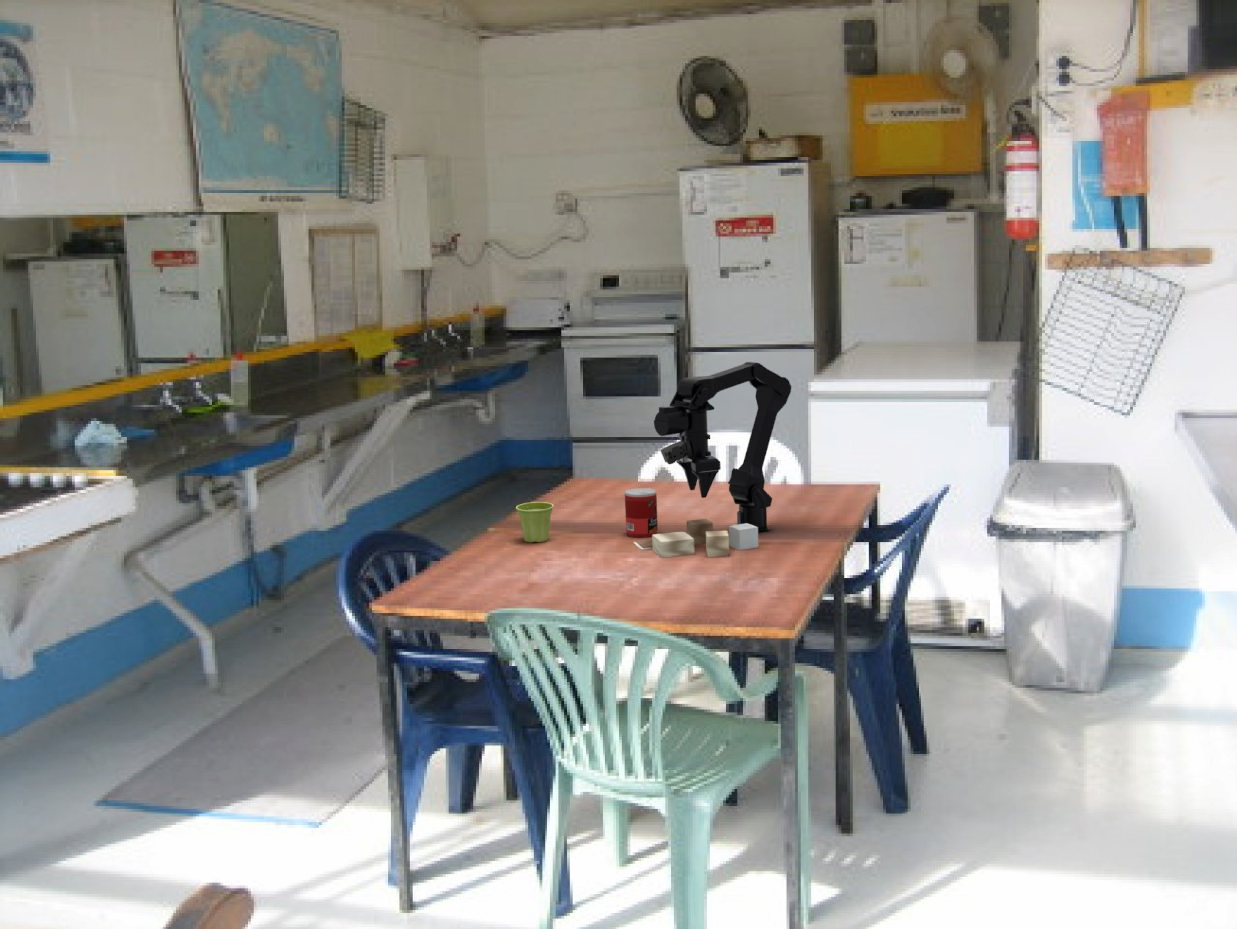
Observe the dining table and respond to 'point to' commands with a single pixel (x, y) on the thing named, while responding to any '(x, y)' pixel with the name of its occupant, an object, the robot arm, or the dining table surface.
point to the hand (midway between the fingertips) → (697, 493)
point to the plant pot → (535, 520)
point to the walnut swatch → (644, 544)
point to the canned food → (641, 512)
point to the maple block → (717, 543)
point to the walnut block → (699, 530)
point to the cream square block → (673, 544)
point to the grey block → (743, 536)
